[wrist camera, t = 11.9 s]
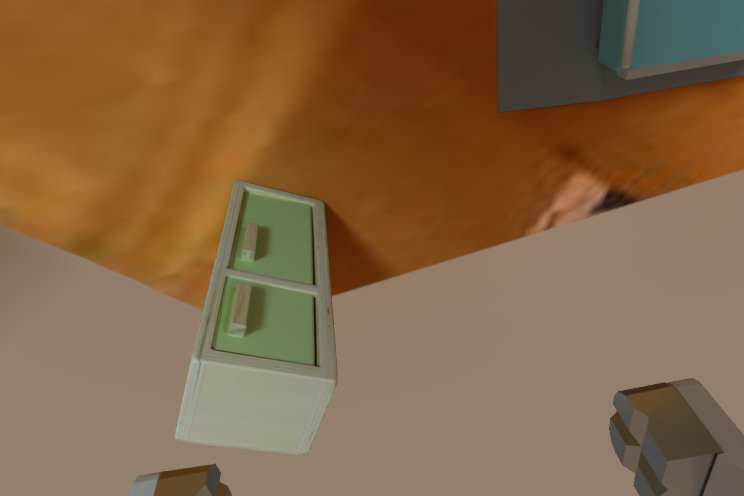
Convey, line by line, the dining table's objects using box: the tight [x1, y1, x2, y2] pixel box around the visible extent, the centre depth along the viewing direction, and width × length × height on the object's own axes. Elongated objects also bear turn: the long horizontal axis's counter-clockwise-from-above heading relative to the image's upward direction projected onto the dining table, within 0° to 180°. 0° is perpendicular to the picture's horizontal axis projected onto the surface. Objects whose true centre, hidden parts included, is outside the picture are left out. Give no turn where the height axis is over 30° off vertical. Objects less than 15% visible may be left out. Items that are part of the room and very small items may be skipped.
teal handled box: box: [596, 0, 744, 72], centre depth 36 cm, size 7×10×5 cm
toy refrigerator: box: [175, 181, 338, 455], centre depth 38 cm, size 8×7×21 cm
